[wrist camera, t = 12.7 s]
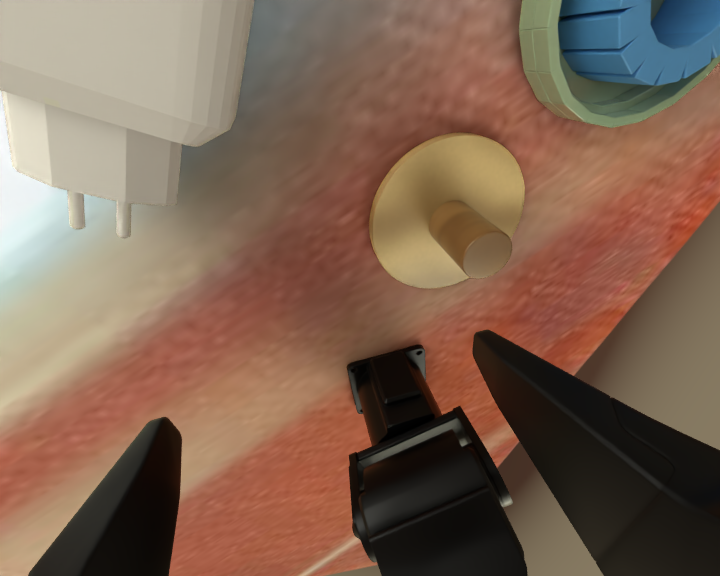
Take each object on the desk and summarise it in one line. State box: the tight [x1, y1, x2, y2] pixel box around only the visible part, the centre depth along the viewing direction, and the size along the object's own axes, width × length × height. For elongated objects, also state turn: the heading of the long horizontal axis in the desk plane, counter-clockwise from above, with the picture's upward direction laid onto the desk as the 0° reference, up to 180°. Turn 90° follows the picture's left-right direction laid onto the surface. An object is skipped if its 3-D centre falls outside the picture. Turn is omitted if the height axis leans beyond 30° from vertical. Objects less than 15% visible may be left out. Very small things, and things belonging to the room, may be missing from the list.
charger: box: [0, 0, 255, 238], centre depth 12 cm, size 5×9×15 cm
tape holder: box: [369, 132, 525, 289], centre depth 19 cm, size 10×10×5 cm
